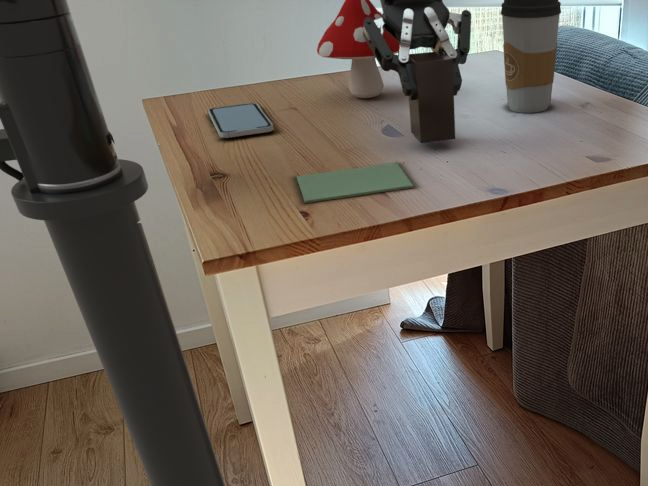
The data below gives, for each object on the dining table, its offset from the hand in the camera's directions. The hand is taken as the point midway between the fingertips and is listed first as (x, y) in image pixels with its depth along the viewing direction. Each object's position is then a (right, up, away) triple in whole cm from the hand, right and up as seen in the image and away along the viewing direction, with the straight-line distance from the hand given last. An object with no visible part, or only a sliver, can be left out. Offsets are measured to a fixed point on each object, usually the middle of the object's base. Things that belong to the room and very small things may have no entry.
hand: (434, 93), depth 83 cm
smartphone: (-29, +2, +16) cm, 33 cm away
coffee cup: (+13, +5, +19) cm, 23 cm away
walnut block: (0, -4, +5) cm, 6 cm away
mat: (-9, -12, -5) cm, 16 cm away
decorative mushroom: (-12, +9, +27) cm, 31 cm away
